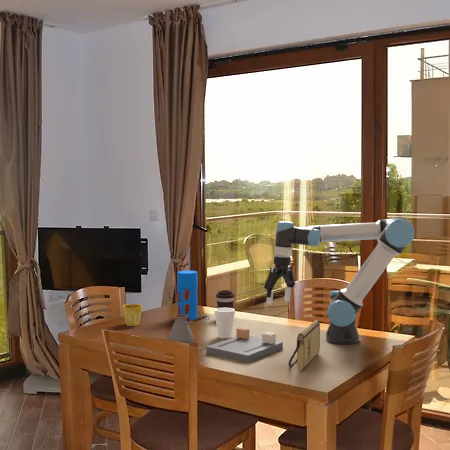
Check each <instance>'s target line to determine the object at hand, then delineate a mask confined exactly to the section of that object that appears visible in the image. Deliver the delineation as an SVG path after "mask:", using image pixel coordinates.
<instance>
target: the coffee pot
mask: <svg viewBox="0 0 450 450" xmlns="http://www.w3.org/2000/svg"><path fill="white" fill-rule="evenodd" d="M187 317H188V316H187V315H178V314H174V315H173V318H174V323H173V325H172V327H171V330H170V332H169V335H168V338H167V340H168V341H169V340H171V341H177V342H183V343H189V344H191V343H192V342H193V340H194V335H193V332H192V330H191V328H190V326H189V324H192V323H196V322H198V321H201V320H204V319H205V320H206V321H209V320H210V318H209V315H202V316H200V317H199V316H198V317H197V318H196V319H194V320H186V319H187ZM207 318H208V319H207Z"/></svg>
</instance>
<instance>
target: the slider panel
mask: <svg viewBox="0 0 450 450" xmlns="http://www.w3.org/2000/svg"><path fill="white" fill-rule="evenodd" d="M205 349H206V350H205V351H206V352H205V354H207V355H212V356H216V357H220V358H224V359H225V358H226V359H229V360H234V361H239V362H243V363H248V364H250V363H252V362H254V361H256V360H258V359H259V360H260V359H261V358H264V357H266V356H269V355H271V354H274V353H277V352H278V351H281V350H283V349H284V342H283V341H279V340H276V343H273V344H269V343H264V342H262V337H257V336H251V335H249V338H247V339H243V338H238V337H236V336H234V337H231V338H227V339H225V340H222V341H219V342H216V343H212V344H210V345H207V346H206V347H205Z"/></svg>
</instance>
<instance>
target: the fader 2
mask: <svg viewBox="0 0 450 450" xmlns="http://www.w3.org/2000/svg"><path fill="white" fill-rule="evenodd" d="M261 338H262V342H264V343H269V344H273V343H276V341H277V340H276V339H277V337H276V333H274V332H269V331H264V332H262V333H261Z"/></svg>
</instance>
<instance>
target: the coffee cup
mask: <svg viewBox="0 0 450 450" xmlns="http://www.w3.org/2000/svg"><path fill="white" fill-rule="evenodd" d="M235 295H236V294H235V293H234V292H233V291H232V290H227V289H223V290H219V291H218V293H216V294H215V297H216V299H217V300H216V305H217V308H233V309H234V302H235V301H234V298H235V297H236V296H235ZM217 308H216V309H217Z"/></svg>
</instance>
